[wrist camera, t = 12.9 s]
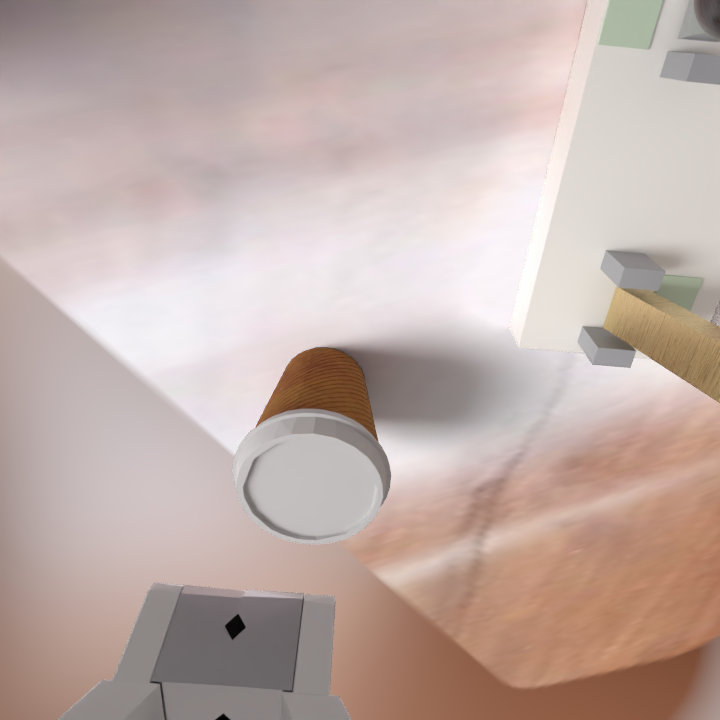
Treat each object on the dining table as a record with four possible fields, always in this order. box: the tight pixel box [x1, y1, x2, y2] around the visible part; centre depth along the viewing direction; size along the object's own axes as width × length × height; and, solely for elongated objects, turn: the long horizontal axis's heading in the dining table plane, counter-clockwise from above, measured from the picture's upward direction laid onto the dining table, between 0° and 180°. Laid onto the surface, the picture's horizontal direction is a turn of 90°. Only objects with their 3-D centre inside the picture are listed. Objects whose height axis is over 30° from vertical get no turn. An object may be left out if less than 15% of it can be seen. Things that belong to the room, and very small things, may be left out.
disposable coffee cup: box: [233, 348, 391, 544], centre depth 39 cm, size 10×10×12 cm
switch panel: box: [509, 0, 720, 368], centre depth 33 cm, size 12×24×6 cm, turn 175°
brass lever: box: [603, 286, 720, 403], centre depth 31 cm, size 3×3×12 cm
